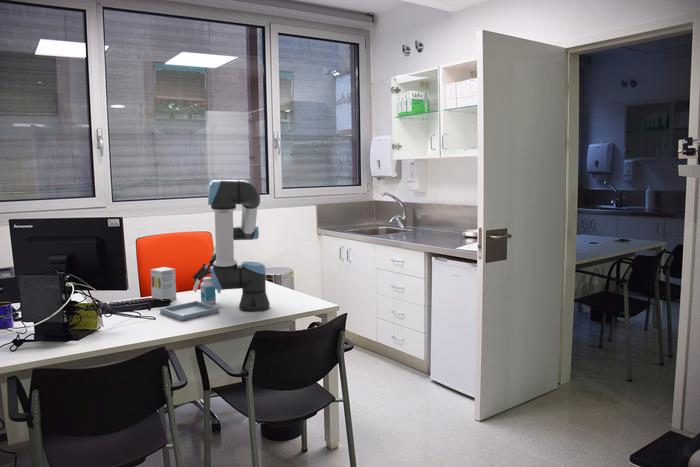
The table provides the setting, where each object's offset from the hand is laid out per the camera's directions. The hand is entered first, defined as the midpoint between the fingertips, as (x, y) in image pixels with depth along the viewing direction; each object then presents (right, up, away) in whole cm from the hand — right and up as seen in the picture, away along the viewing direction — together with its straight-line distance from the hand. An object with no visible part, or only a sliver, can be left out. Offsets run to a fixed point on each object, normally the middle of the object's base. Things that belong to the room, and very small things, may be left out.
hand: (206, 291), depth 281 cm
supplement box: (-25, -6, +10) cm, 28 cm away
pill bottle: (+1, -7, +2) cm, 7 cm away
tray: (-4, -9, -17) cm, 19 cm away
